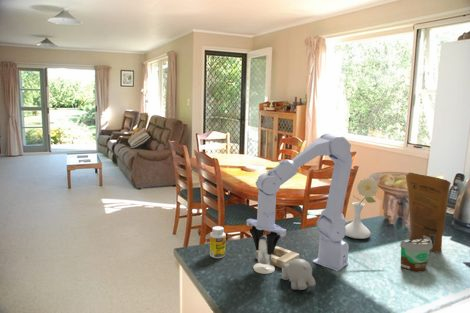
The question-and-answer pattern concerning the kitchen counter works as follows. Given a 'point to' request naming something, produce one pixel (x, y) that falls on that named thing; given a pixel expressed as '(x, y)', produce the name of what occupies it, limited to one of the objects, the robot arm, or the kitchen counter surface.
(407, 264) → the food container
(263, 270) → the coaster
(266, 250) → the end plug
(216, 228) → the supplement bottle
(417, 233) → the pancake mix bag
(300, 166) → the robot arm
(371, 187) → the flower in vase
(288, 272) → the round bodied animal figurine
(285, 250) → the beige flat block
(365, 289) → the kitchen counter surface
